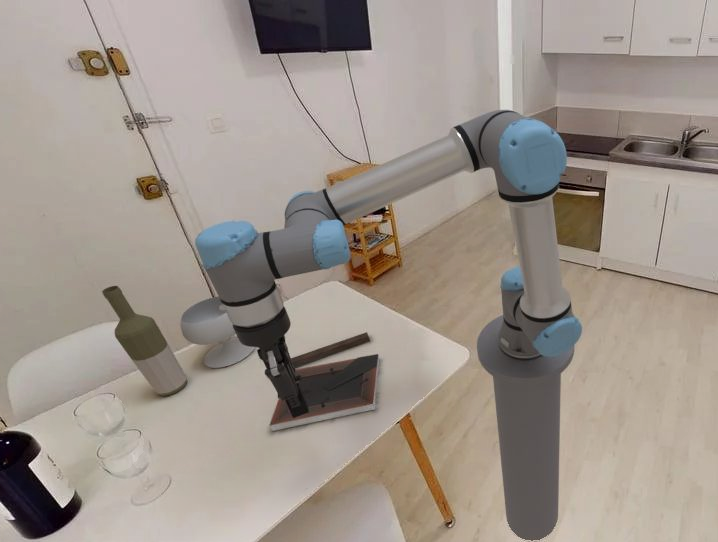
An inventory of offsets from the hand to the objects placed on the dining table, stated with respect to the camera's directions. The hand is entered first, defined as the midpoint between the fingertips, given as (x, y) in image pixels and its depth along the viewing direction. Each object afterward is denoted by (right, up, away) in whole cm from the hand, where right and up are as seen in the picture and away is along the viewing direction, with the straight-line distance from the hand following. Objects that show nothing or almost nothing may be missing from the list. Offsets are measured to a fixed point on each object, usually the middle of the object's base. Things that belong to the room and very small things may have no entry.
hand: (300, 412), depth 77 cm
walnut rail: (-12, +2, +33) cm, 35 cm away
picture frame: (-5, -4, +22) cm, 23 cm away
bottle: (-46, -4, +24) cm, 52 cm away
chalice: (-39, +2, +35) cm, 52 cm away
